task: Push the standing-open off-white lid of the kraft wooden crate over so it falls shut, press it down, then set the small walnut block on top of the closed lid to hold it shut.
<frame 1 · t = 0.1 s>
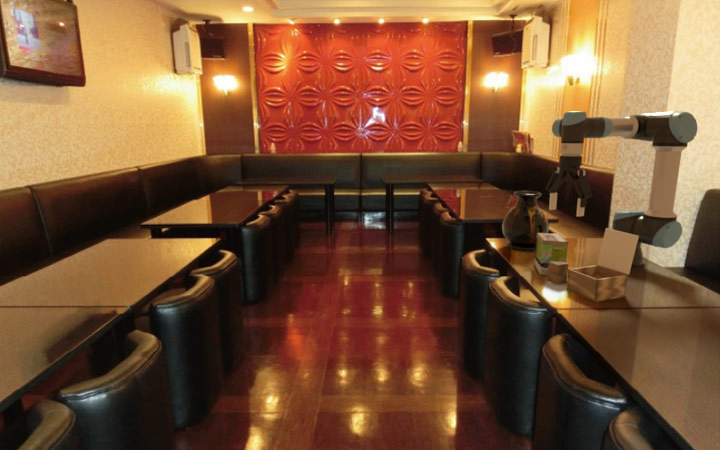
hand: (565, 212, 169), 28 cm above the table, tool pointing down, fingers open, 13 cm apart
dark glossy vase: (523, 248, 227), on the table
walnut block: (556, 282, 177), on the table
crate: (595, 293, 165), on the table
tea box: (548, 270, 192), on the table
lid: (617, 250, 165), point 15 cm above the table, hinge at 100.0°
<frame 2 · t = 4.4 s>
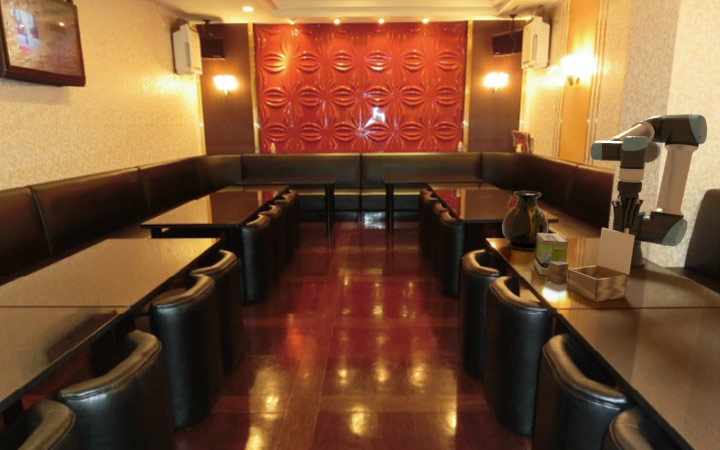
hand: (622, 245, 165), 17 cm above the table, tool pointing down, fingers closed
lid: (615, 250, 165), point 15 cm above the table, hinge at 91.6°, touching gripper
everything else where it was.
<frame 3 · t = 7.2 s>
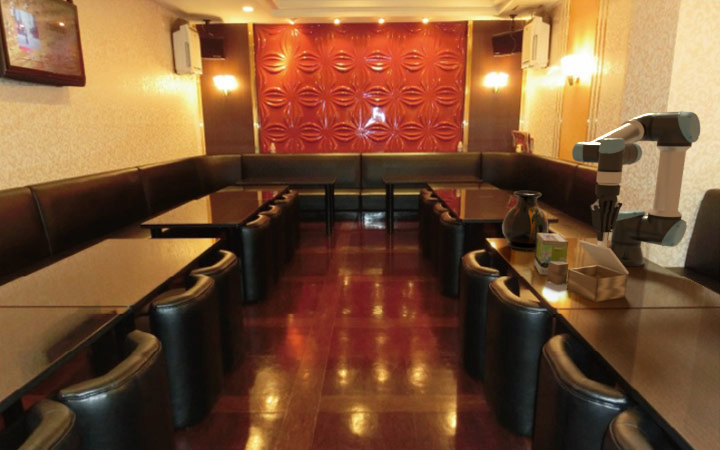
hand: (601, 249, 162), 16 cm above the table, tool pointing down, fingers closed
lid: (603, 256, 163), point 14 cm above the table, hinge at 44.4°, touching gripper
everything else where it was.
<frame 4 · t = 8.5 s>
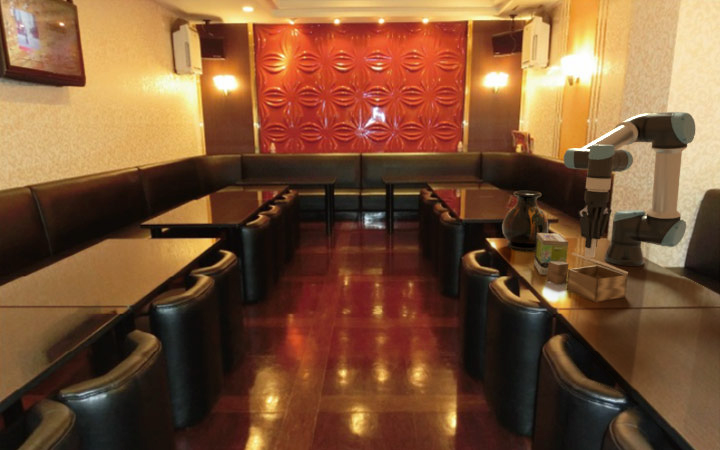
hand: (589, 256, 161), 14 cm above the table, tool pointing down, fingers closed
lid: (599, 263, 163), point 11 cm above the table, hinge at 21.9°, touching gripper
everything else where it was.
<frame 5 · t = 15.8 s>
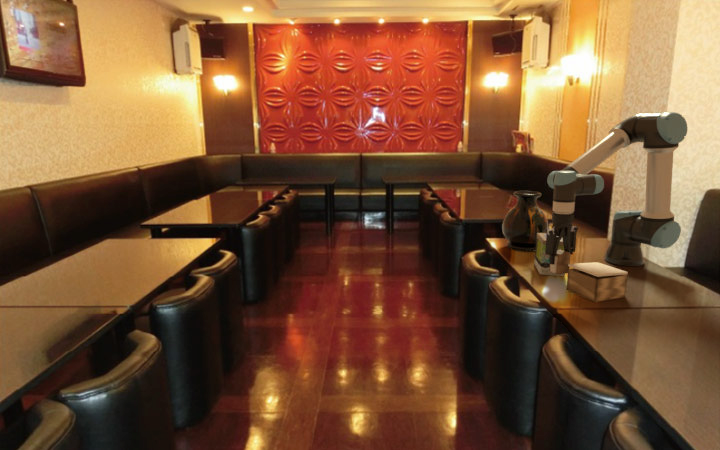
hand: (559, 270, 177), 5 cm above the table, tool pointing down, fingers closed on walnut block, 5 cm apart
walnut block: (559, 271, 177), point 4 cm above the table, touching gripper
lid: (597, 269, 163), point 9 cm above the table, hinge at 3.4°
everything else where it was.
when the fingers open (10 cm above the table, at t = 19.6 s): walnut block stays where it is, resting on lid.
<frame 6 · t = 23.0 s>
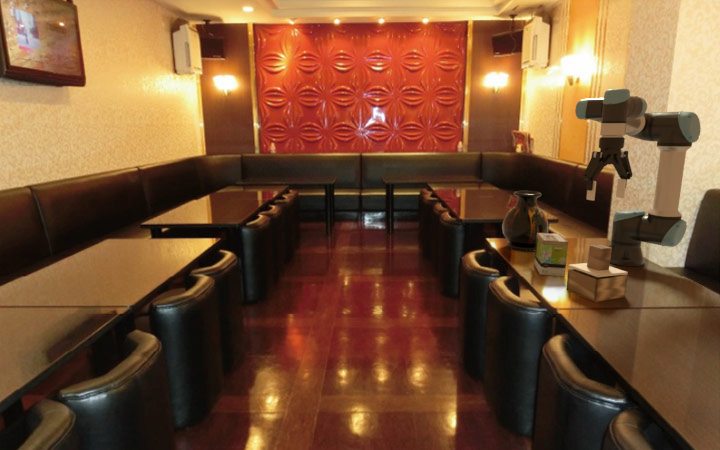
hand: (605, 198, 158), 35 cm above the table, tool pointing down, fingers open, 13 cm apart
walnut block: (597, 268, 163), point 10 cm above the table, touching lid
lid: (597, 269, 163), point 9 cm above the table, hinge at 2.6°, touching walnut block
everything else where it was.
at the end: lid at +3° (first picture: +100°); walnut block 0.0 cm from the crate (horizontally); walnut block touching lid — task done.
